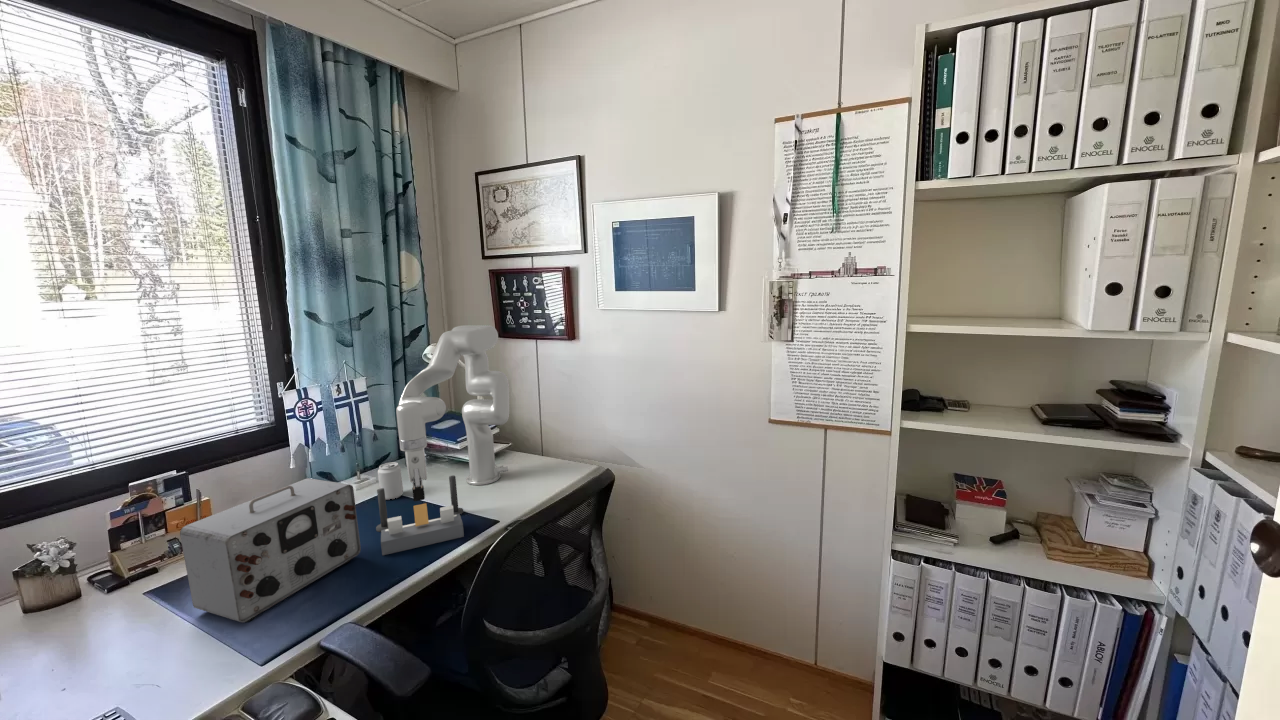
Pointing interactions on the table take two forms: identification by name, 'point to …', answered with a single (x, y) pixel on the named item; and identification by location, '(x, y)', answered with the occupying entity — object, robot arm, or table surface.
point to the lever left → (395, 525)
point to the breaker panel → (421, 535)
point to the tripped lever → (421, 514)
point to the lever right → (447, 514)
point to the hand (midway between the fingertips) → (419, 499)
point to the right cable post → (454, 495)
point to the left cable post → (382, 510)
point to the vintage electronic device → (269, 547)
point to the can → (390, 480)
